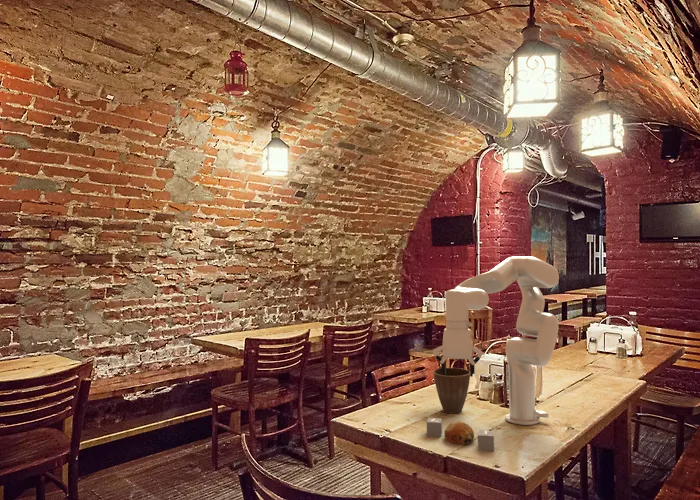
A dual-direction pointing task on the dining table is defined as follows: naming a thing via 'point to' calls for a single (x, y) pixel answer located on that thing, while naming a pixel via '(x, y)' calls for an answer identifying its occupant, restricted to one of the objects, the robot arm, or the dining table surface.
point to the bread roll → (459, 433)
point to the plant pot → (452, 388)
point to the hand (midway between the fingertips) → (457, 375)
